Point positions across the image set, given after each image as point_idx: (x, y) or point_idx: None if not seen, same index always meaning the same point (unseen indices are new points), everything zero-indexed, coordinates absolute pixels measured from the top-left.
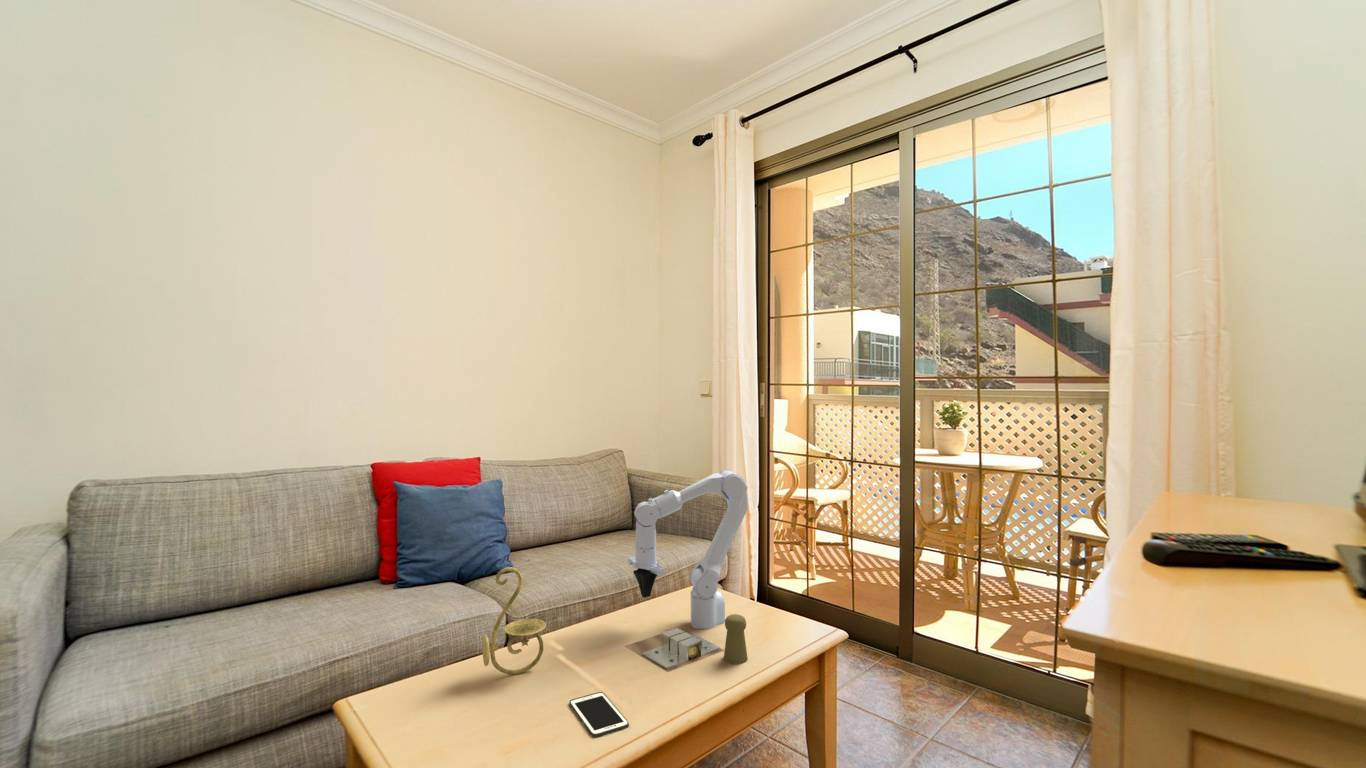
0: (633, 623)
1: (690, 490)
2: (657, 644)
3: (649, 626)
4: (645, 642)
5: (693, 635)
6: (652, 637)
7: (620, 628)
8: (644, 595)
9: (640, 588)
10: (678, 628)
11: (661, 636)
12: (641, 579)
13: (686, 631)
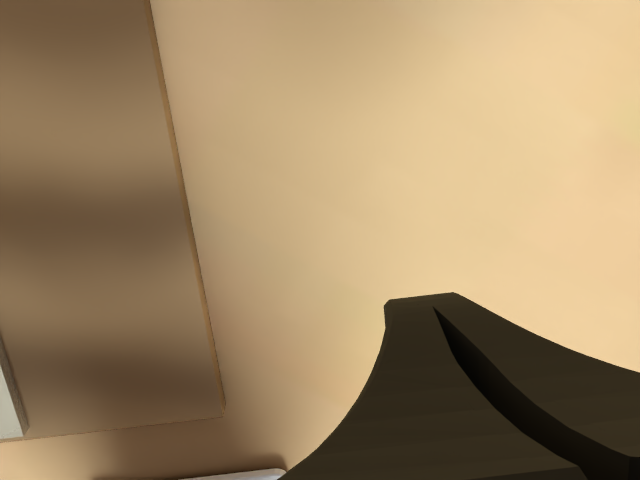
0: (553, 193)
1: None
2: (13, 130)
3: (422, 269)
4: (95, 62)
5: (12, 423)
6: (162, 164)
7: (536, 49)
8: (385, 312)
9: (485, 325)
10: (218, 406)
11: (144, 234)
12: (435, 425)
13: (137, 424)
